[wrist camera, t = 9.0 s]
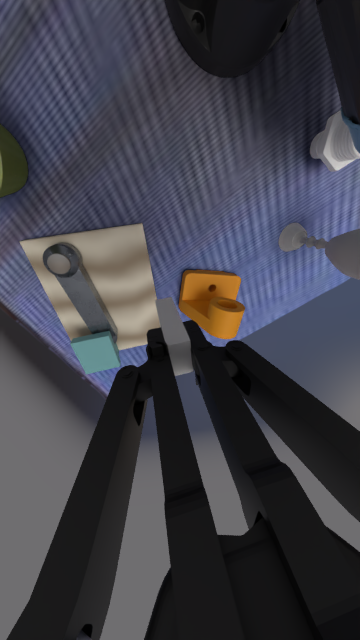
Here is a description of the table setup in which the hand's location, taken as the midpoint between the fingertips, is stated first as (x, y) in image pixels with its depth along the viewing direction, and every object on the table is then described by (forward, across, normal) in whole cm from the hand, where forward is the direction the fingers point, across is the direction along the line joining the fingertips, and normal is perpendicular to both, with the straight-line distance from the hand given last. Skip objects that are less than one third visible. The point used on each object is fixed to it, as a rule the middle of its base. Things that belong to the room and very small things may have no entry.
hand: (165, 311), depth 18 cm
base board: (+18, +8, +5) cm, 21 cm away
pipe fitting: (+19, -29, -13) cm, 37 cm away
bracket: (+19, -10, +7) cm, 22 cm away
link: (+17, +11, +4) cm, 20 cm away
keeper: (+17, +12, +13) cm, 24 cm away
